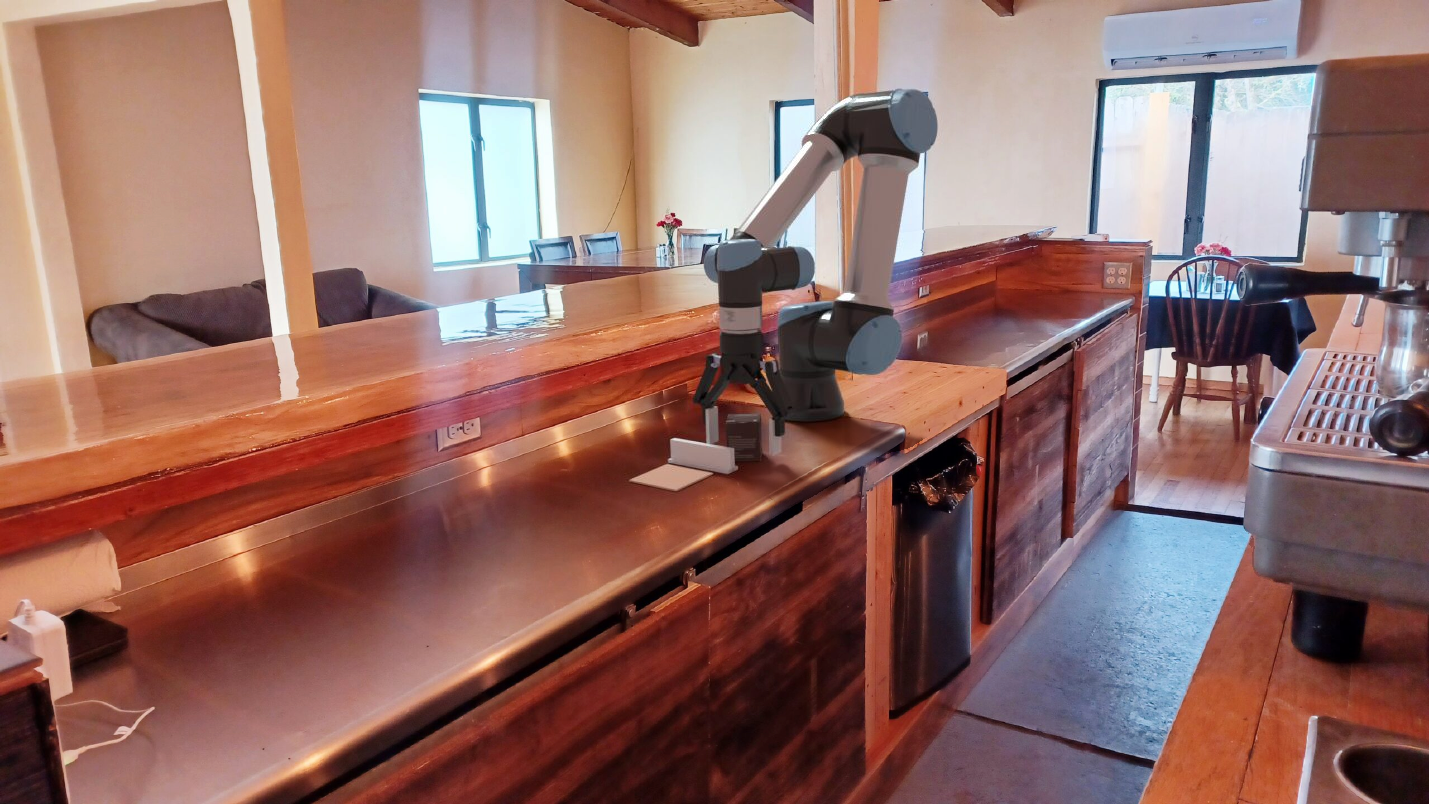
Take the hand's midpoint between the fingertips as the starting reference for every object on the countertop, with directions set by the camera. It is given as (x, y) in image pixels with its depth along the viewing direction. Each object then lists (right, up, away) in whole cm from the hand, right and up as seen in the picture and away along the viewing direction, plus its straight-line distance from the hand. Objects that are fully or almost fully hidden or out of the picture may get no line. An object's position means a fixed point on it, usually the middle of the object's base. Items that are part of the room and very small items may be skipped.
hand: (743, 448), depth 168 cm
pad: (-12, -5, -10) cm, 16 cm away
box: (0, -2, +1) cm, 2 cm away
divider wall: (-7, -3, -4) cm, 9 cm away
